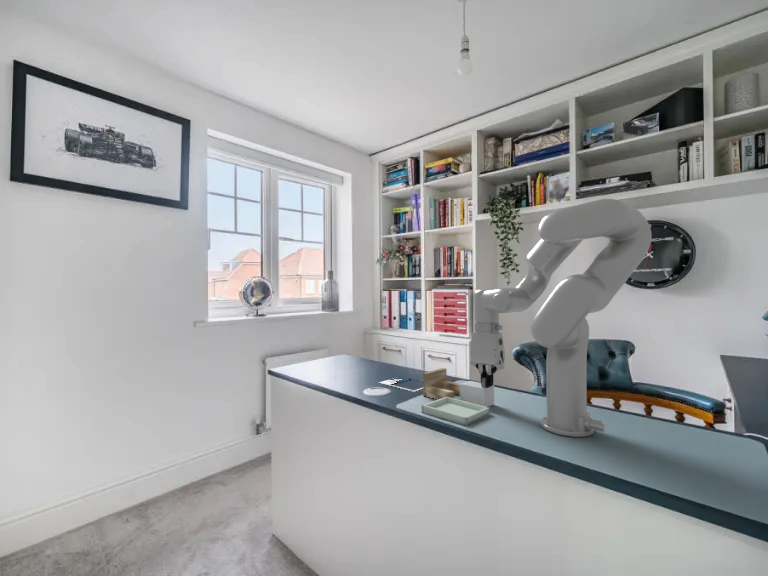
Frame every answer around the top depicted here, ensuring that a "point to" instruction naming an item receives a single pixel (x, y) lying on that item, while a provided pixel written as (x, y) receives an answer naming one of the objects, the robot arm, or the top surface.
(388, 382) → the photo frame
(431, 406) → the tray
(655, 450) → the top surface
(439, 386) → the dock
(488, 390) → the white box
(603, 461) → the top surface
